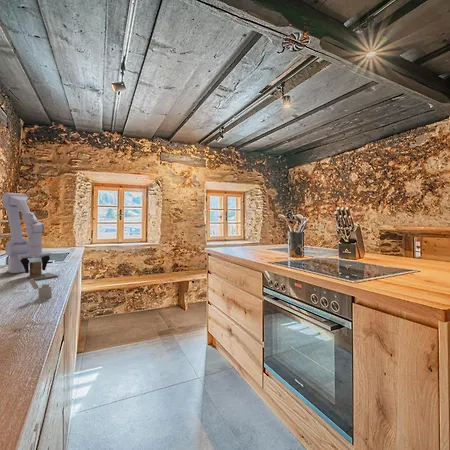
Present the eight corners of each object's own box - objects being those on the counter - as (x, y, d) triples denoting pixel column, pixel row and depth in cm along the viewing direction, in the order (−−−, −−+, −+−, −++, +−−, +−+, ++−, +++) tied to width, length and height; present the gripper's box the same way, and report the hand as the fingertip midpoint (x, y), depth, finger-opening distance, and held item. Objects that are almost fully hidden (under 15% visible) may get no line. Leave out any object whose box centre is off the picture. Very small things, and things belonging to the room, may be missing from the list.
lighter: (51, 296, 104) (51, 276, 103) (51, 297, 102) (51, 277, 102) (29, 299, 100) (29, 278, 100) (28, 300, 98) (28, 279, 98)
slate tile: (27, 277, 132) (27, 276, 132) (49, 274, 141) (49, 272, 141) (35, 280, 127) (35, 279, 127) (57, 277, 135) (57, 275, 135)
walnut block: (29, 275, 138) (29, 262, 138) (38, 274, 141) (38, 261, 141) (32, 276, 136) (32, 263, 135) (41, 275, 139) (41, 262, 139)
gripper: (21, 247, 130) (22, 274, 130) (53, 245, 142) (54, 270, 142) (16, 246, 134) (16, 273, 134) (47, 244, 146) (48, 268, 146)
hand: (35, 271), depth 138 cm, fingers open, 7 cm apart
